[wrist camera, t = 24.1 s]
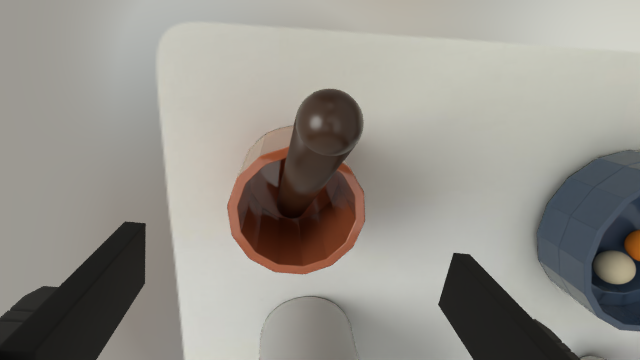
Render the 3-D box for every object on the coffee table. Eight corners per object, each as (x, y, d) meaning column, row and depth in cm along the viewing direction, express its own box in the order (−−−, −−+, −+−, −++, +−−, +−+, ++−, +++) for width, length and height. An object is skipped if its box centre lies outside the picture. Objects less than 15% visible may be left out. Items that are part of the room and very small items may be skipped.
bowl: (563, 139, 30) (628, 155, 25) (702, 160, 32) (792, 179, 27) (513, 283, 34) (559, 326, 29) (639, 294, 36) (706, 336, 31)
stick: (287, 185, 29) (326, 61, 12) (311, 202, 29) (385, 103, 12) (270, 209, 29) (283, 114, 11) (294, 226, 29) (347, 159, 11)
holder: (246, 119, 27) (232, 138, 20) (352, 133, 28) (378, 157, 21) (237, 217, 30) (221, 268, 22) (336, 227, 31) (353, 279, 23)
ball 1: (610, 259, 31) (648, 260, 30) (588, 244, 34) (623, 245, 33) (603, 290, 31) (640, 291, 31) (583, 272, 34) (616, 273, 34)
